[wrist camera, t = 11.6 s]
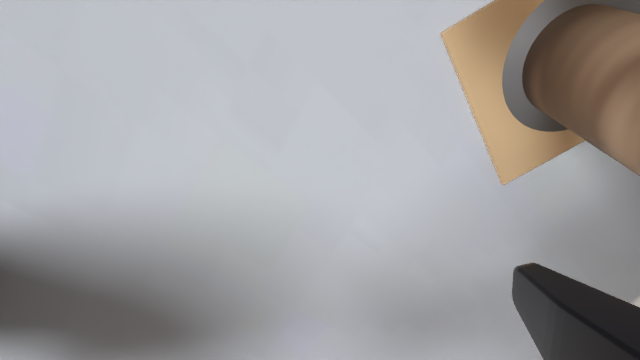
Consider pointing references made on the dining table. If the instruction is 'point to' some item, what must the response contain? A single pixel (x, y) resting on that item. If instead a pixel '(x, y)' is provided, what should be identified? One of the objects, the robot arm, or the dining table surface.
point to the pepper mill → (590, 78)
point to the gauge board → (511, 80)
